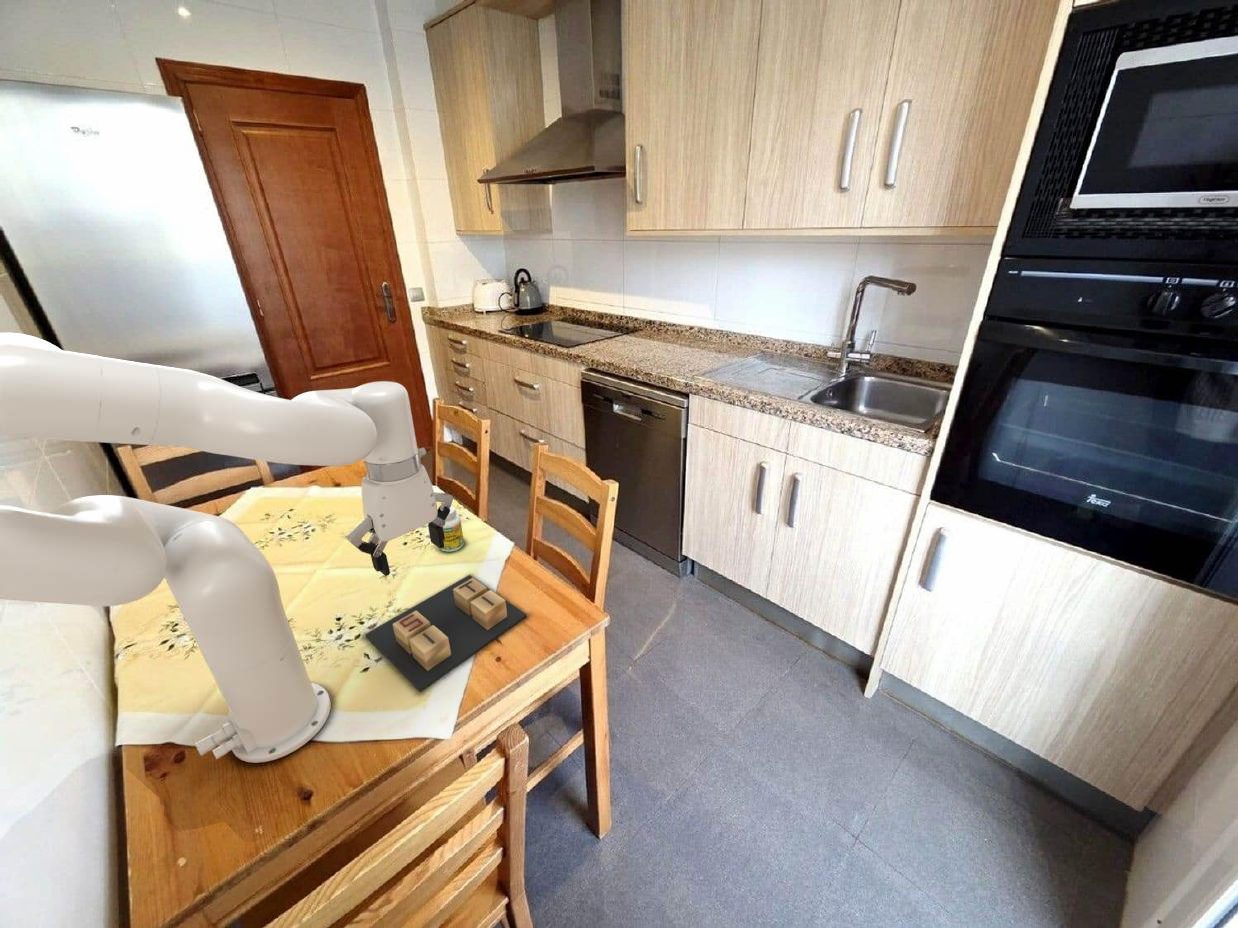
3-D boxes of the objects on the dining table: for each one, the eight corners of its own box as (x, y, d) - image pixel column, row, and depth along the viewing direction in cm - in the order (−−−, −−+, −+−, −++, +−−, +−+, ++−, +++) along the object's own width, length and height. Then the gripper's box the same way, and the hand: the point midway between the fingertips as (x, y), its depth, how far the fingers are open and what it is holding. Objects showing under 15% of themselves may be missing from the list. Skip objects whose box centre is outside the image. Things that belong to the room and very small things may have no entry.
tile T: (469, 616, 94) (466, 599, 92) (455, 605, 96) (452, 588, 95) (489, 603, 97) (487, 586, 95) (475, 593, 100) (472, 576, 98)
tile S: (409, 654, 86) (405, 636, 84) (396, 641, 88) (392, 623, 86) (433, 639, 89) (430, 621, 87) (419, 626, 91) (416, 609, 89)
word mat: (420, 691, 80) (419, 689, 79) (365, 636, 90) (365, 634, 90) (526, 616, 95) (526, 614, 94) (469, 576, 105) (469, 574, 105)
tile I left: (427, 671, 82) (423, 652, 81) (413, 657, 85) (408, 639, 83) (451, 654, 86) (448, 636, 84) (436, 641, 88) (433, 624, 86)
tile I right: (487, 630, 91) (485, 612, 89) (472, 618, 93) (470, 601, 92) (507, 616, 94) (505, 599, 92) (492, 605, 96) (490, 589, 95)
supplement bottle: (460, 536, 118) (454, 501, 114) (467, 547, 114) (462, 511, 110) (436, 543, 116) (430, 507, 111) (443, 555, 112) (437, 518, 107)
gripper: (431, 441, 84) (444, 528, 91) (322, 477, 72) (348, 573, 79) (457, 454, 79) (469, 543, 87) (346, 494, 67) (371, 594, 75)
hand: (411, 557), depth 83 cm, fingers open, 9 cm apart
